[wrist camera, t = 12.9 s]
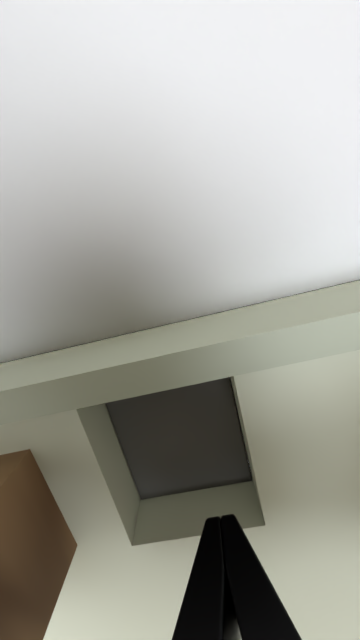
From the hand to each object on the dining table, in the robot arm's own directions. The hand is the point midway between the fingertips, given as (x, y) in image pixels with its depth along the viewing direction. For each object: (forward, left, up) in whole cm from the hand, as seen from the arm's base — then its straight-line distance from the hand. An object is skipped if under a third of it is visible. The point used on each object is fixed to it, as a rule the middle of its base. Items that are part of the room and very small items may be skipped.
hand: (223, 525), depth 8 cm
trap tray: (-3, +5, -3) cm, 7 cm away
